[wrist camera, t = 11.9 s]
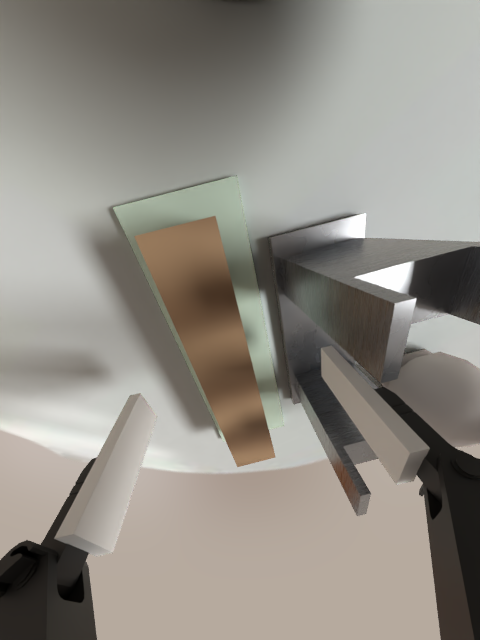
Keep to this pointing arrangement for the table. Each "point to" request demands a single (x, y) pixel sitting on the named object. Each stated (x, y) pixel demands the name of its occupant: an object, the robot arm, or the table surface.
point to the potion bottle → (442, 394)
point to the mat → (232, 226)
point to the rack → (360, 317)
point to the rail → (210, 329)
